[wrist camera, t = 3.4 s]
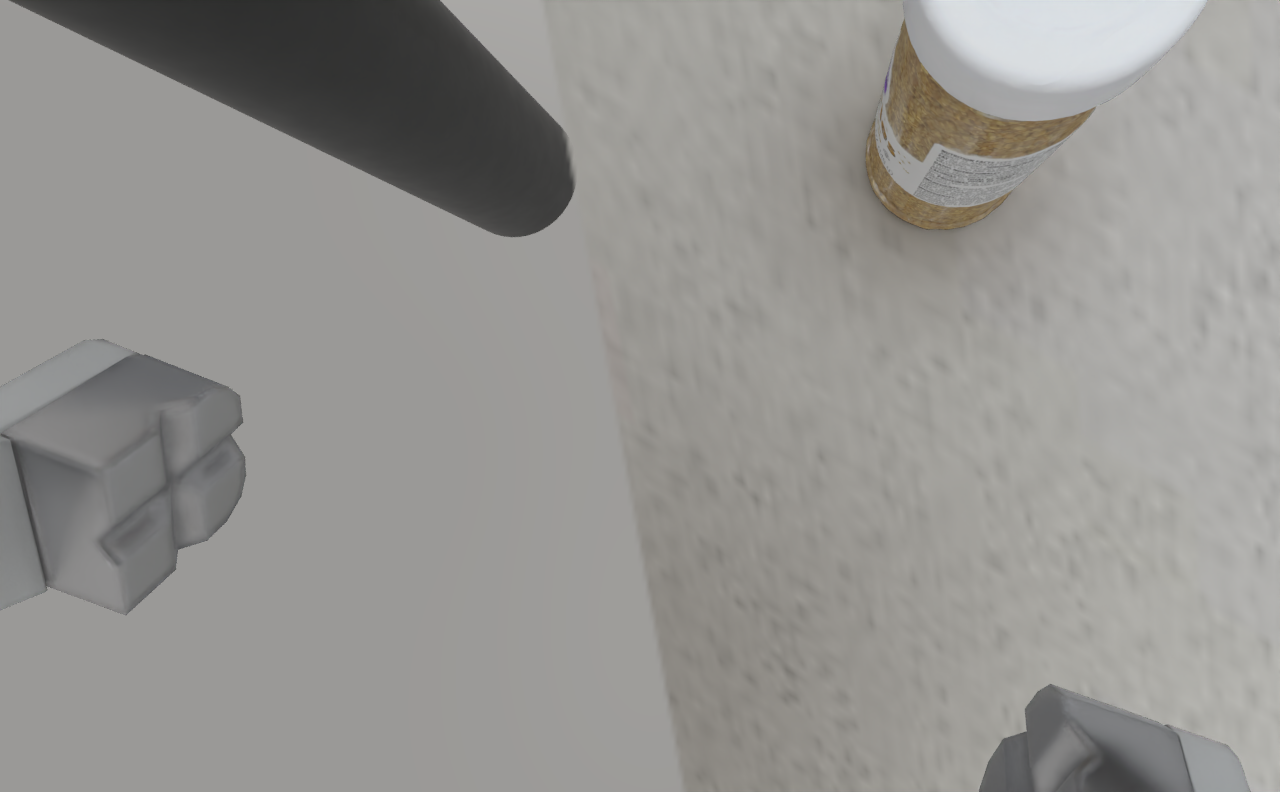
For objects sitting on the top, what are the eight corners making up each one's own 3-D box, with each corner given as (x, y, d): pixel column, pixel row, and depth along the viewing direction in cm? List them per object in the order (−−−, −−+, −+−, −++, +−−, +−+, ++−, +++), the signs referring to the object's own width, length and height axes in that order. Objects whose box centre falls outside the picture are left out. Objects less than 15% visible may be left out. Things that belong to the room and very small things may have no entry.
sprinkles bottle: (871, 79, 27) (930, -216, 14) (1031, 84, 26) (1257, -226, 13) (856, 230, 27) (900, 82, 14) (1015, 239, 26) (1221, 91, 13)
